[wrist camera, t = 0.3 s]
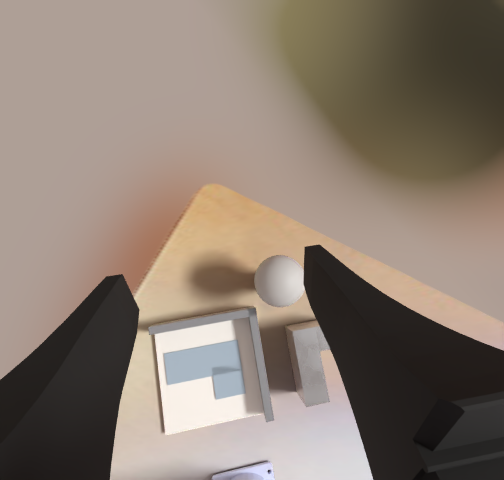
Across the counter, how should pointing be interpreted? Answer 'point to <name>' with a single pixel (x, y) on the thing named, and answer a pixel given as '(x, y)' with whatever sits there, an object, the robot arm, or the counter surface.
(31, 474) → the robot arm
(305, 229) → the counter surface
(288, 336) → the bracket
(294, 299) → the lightbulb
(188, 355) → the white tray
